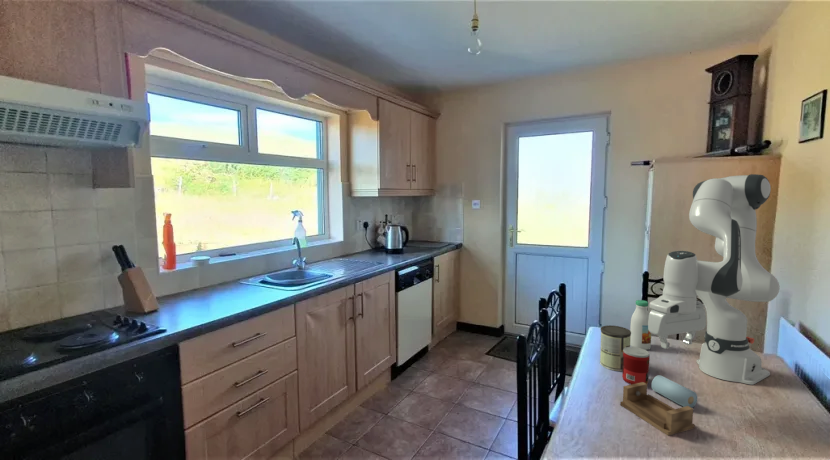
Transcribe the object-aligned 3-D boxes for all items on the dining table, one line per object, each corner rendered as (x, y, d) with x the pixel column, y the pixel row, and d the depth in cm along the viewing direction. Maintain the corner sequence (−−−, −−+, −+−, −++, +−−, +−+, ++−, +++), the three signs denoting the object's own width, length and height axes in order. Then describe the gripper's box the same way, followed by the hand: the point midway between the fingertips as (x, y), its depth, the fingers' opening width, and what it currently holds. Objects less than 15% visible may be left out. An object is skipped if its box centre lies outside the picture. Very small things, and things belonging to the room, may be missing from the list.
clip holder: (644, 399, 122) (645, 381, 121) (694, 428, 107) (695, 408, 106) (620, 404, 119) (620, 386, 118) (668, 435, 104) (669, 414, 103)
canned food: (652, 387, 129) (653, 356, 128) (626, 385, 131) (627, 354, 130) (643, 376, 136) (644, 347, 135) (619, 375, 138) (620, 346, 137)
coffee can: (601, 357, 153) (602, 323, 152) (630, 363, 147) (632, 328, 146) (597, 367, 144) (599, 331, 143) (628, 374, 139) (630, 336, 137)
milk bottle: (633, 349, 159) (635, 303, 157) (626, 342, 167) (628, 298, 165) (653, 350, 158) (656, 304, 156) (645, 343, 166) (647, 299, 164)
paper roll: (664, 387, 128) (663, 372, 127) (698, 405, 117) (696, 388, 116) (652, 393, 126) (650, 378, 125) (685, 411, 116) (683, 395, 115)
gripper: (693, 297, 125) (690, 338, 126) (645, 303, 119) (643, 346, 120) (713, 302, 119) (710, 345, 120) (663, 309, 113) (661, 353, 114)
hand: (676, 345), depth 120 cm, fingers open, 8 cm apart
